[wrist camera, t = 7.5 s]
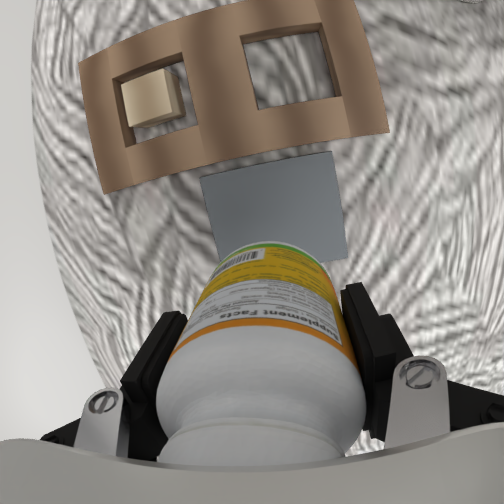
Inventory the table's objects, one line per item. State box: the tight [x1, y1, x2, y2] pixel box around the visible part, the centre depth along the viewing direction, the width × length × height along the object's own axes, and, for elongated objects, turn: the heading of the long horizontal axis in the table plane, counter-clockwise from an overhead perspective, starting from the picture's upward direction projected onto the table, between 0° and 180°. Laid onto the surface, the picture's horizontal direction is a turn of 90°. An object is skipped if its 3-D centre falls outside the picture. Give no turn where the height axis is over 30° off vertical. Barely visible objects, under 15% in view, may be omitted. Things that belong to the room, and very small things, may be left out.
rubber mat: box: [199, 151, 348, 263], centre depth 28 cm, size 12×10×1 cm
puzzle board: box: [78, 0, 390, 195], centre depth 24 cm, size 26×14×2 cm, turn 102°
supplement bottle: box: [156, 241, 366, 466], centre depth 9 cm, size 5×5×10 cm
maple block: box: [121, 69, 186, 128], centre depth 24 cm, size 4×4×4 cm
